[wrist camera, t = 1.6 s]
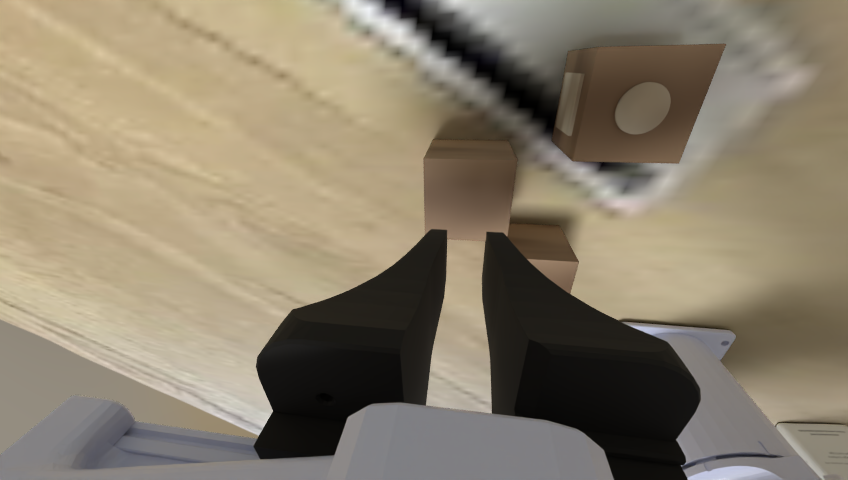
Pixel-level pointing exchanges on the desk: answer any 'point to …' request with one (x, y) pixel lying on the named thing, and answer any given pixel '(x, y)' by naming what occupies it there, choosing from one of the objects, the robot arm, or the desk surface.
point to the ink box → (819, 446)
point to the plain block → (469, 187)
